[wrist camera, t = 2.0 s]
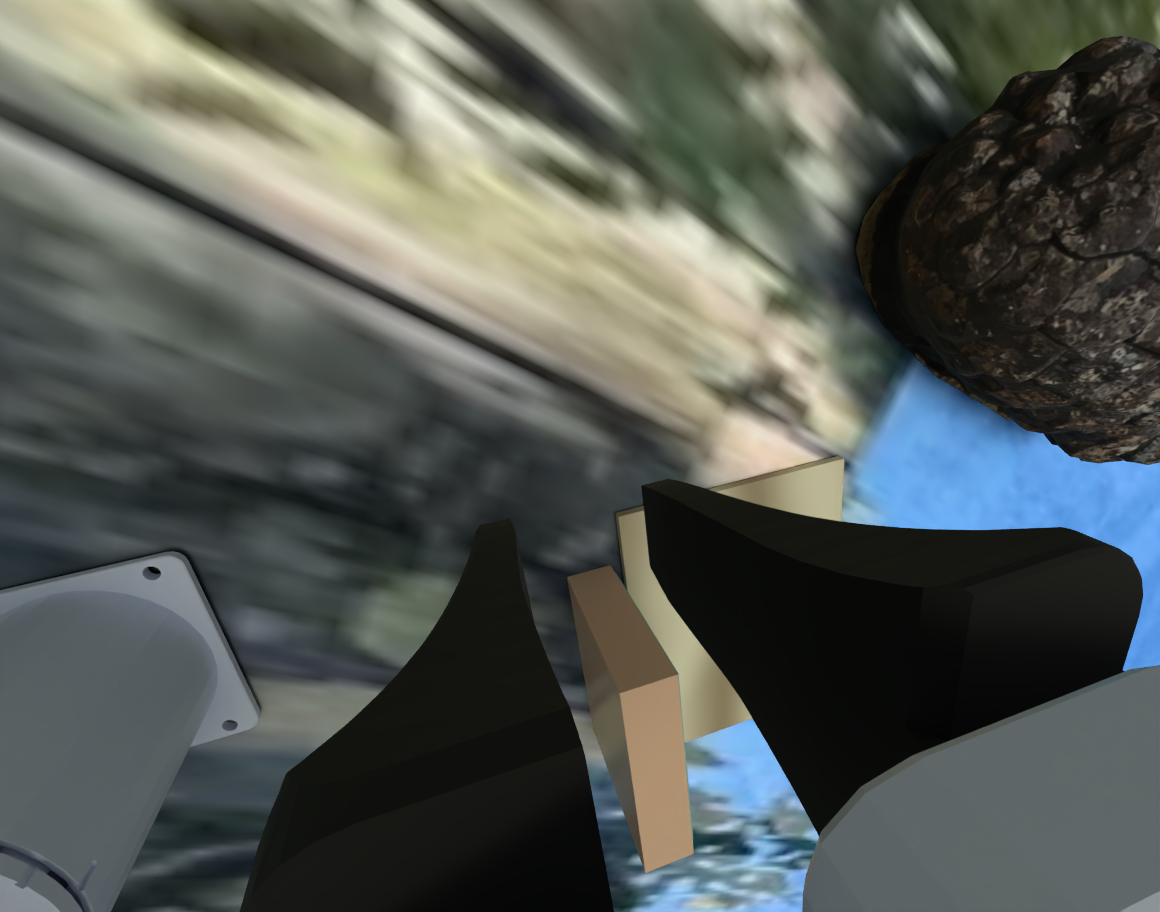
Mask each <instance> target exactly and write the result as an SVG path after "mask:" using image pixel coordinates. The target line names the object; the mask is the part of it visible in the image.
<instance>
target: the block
mask: <svg viewBox="0 0 1160 912" xmlns="http://www.w3.org/2000/svg"><path fill="white" fill-rule="evenodd" d="M567 580H568V586H569V592H570V598H571V603H572V609H573V615H574V621H575V627H576V632H577V638H578V644H579V650H580V655H581V661H582V667H583V673H584V679H585V684H586V690H587V696H588V702H589V707H590V713H591V719H592V725H593V730H594V732H595V735H596V738H597V741H598V743H599V746H600V749H601V752H602V754H603V757H604V760H605V763H606V765H607V768H608V771H609V774H610V776H611V779H612V782H613V785H614V788H615V790H616V793H617V796H618V799H619V801H620V804H621V807H622V810H623V812H624V815H625V818H626V821H627V823H628V826H629V829H630V832H631V834H632V837H633V840H634V843H635V845H636V848H637V851H638V854H639V857H640V859H641V862H642V865H643V868H644V870H645V873H647V872H649V871H652V870H654V869H657V868H659V867H662V866H664V865H666V864H669V863H671V862H674V861H676V860H679V859H681V858H684V857H686V856H689V855H691V854H694V852H693V831H692V820H691V808H690V797H689V786H688V774H687V763H686V752H685V740H684V729H683V718H682V706H681V695H680V684H679V674H678V672H677V670H676V669H675V667H674V666H673V664H672V662H671V661H670V659H669V657H668V656H667V654H666V653H665V651H664V649H663V648H662V646H661V644H660V643H659V641H658V640H657V638H656V636H655V635H654V633H653V632H652V630H651V628H650V627H649V625H648V623H647V622H646V620H645V619H644V617H643V615H642V614H641V612H640V610H639V609H638V607H637V606H636V604H635V602H634V601H633V599H632V598H631V596H630V594H629V593H628V591H627V589H626V588H625V586H624V585H623V583H622V581H621V580H620V578H619V576H618V575H617V573H615V572H614V570H613V568H612V567H611V565H609V566H605V567H602V568H598V569H594V570H591V571H587V572H583V573H580V574H576V575H572V576H569V577H567Z"/></svg>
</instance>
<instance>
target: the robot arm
mask: <svg viewBox="0 0 1160 912" xmlns="http://www.w3.org/2000/svg"><path fill="white" fill-rule="evenodd" d="M641 487H642V496H643V506H644V515H645V525H646V535H647V544H648V554H649V564H650V568H651V570H652V571H653V573H654V575H655V577H656V579H657V581H658V583H659V585H660V587H661V588H662V590H663V592H664V594H665V595H666V597H667V599H668V601H669V602H670V604H671V605H672V607H673V608H674V609H675V611H676V612H677V613H678V615H679V616H680V617H681V619H682V620H683V621H684V623H685V624H686V625H687V627H688V628H689V630H690V631H691V632H692V633H693V635H694V636H695V637H696V639H697V640H698V641H699V643H700V644H701V645H702V647H703V648H704V649H705V651H706V652H707V653H708V655H709V656H710V657H711V659H712V660H713V661H714V662H715V664H716V665H717V666H718V668H719V669H720V670H721V672H722V673H723V674H724V676H725V677H726V678H727V680H728V681H729V683H730V684H731V685H732V687H733V688H734V690H735V691H736V693H737V694H738V696H739V697H740V699H741V700H742V702H743V703H744V705H745V707H746V708H747V710H748V712H749V713H750V715H751V717H752V718H753V720H754V722H755V723H756V725H757V727H758V728H759V730H760V732H761V733H762V735H763V737H764V738H765V740H766V742H767V743H768V745H769V747H770V749H771V750H772V752H773V754H774V756H775V757H776V759H777V761H778V763H779V764H780V766H781V768H782V770H783V771H784V773H785V775H786V777H787V778H788V780H789V782H790V784H791V785H792V787H793V789H794V791H795V792H796V794H797V796H798V798H799V800H800V802H801V804H802V805H803V807H804V809H805V811H806V813H807V815H808V817H809V818H810V820H811V822H812V824H813V826H814V828H815V829H816V831H817V833H818V835H819V839H818V842H817V845H816V848H815V851H814V854H813V856H812V859H811V862H810V865H809V868H808V871H807V874H806V879H805V885H804V891H803V912H1160V665H1159V666H1152V667H1144V668H1137V669H1130V670H1127V671H1123V666H1124V663H1125V660H1126V657H1127V653H1128V650H1129V647H1130V644H1131V640H1132V637H1133V634H1134V631H1135V628H1136V624H1137V621H1138V618H1139V614H1140V609H1141V604H1142V599H1143V588H1142V578H1141V575H1140V572H1139V570H1138V568H1137V566H1136V564H1135V562H1134V560H1133V559H1132V557H1130V556H1129V555H1127V554H1126V553H1125V552H1123V551H1122V550H1120V549H1119V548H1116V547H1114V546H1111V545H1109V544H1106V543H1104V542H1102V541H1099V540H1097V539H1094V538H1092V537H1090V536H1087V535H1085V534H1082V533H1080V532H1077V531H1074V530H1071V529H1067V528H1062V527H1055V528H1029V529H1002V530H935V529H913V528H898V527H887V526H876V525H865V524H856V523H848V522H841V521H835V520H829V519H823V518H817V517H811V516H806V515H801V514H796V513H791V512H787V511H783V510H779V509H775V508H771V507H767V506H762V505H759V504H755V503H752V502H748V501H744V500H741V499H737V498H734V497H731V496H727V495H724V494H721V493H718V492H714V491H711V490H708V489H705V488H701V487H698V486H695V485H691V484H688V483H684V482H680V481H676V480H671V479H666V480H662V481H658V482H654V483H650V484H646V485H642V486H641ZM152 566H153V567H156V568H158V569H159V570H160V571H161V574H154V573H152V572H150V571H149V570H148V567H152ZM260 715H261V712H260V709H259V707H258V705H257V703H256V701H255V699H254V697H253V694H252V692H251V690H250V688H249V686H248V684H247V682H246V680H245V678H244V676H243V674H242V671H241V669H240V667H239V665H238V663H237V661H236V659H235V657H234V655H233V653H232V651H231V648H230V646H229V644H228V642H227V640H226V638H225V636H224V634H223V632H222V630H221V628H220V625H219V623H218V621H217V619H216V617H215V615H214V613H213V611H212V609H211V607H210V605H209V602H208V600H207V598H206V596H205V594H204V592H203V590H202V588H201V586H200V584H199V582H198V580H197V577H196V575H195V573H194V571H193V569H192V567H191V565H190V563H189V561H188V559H187V558H186V557H185V556H184V555H182V554H181V553H178V552H174V551H171V552H164V553H159V554H155V555H151V556H146V557H142V558H138V559H133V560H129V561H125V562H120V563H116V564H112V565H107V566H103V567H99V568H94V569H90V570H86V571H81V572H77V573H73V574H68V575H64V576H60V577H55V578H51V579H47V580H42V581H38V582H34V583H29V584H25V585H21V586H16V587H12V588H8V589H3V590H0V912H111V910H112V908H113V906H114V904H115V902H116V900H117V898H118V896H119V893H120V891H121V889H122V887H123V885H124V883H125V881H126V879H127V877H128V875H129V873H130V871H131V869H132V866H133V864H134V862H135V860H136V858H137V856H138V854H139V852H140V850H141V848H142V846H143V844H144V842H145V840H146V837H147V835H148V833H149V831H150V829H151V827H152V825H153V823H154V821H155V819H156V817H157V815H158V813H159V810H160V808H161V806H162V804H163V802H164V800H165V798H166V796H167V794H168V792H169V790H170V788H171V786H172V783H173V781H174V779H175V777H176V775H177V773H178V771H179V769H180V767H181V765H182V763H183V761H184V759H185V756H186V754H187V752H188V750H189V748H190V747H193V746H196V745H199V744H203V743H206V742H210V741H213V740H216V739H220V738H223V737H226V736H230V735H233V734H236V733H240V732H243V731H246V730H249V729H252V728H254V727H255V726H256V725H257V724H258V721H259V718H260ZM227 720H233V721H236V723H230V722H228V721H227ZM240 912H614V910H613V904H612V899H611V893H610V888H609V883H608V877H607V872H606V866H605V861H604V856H603V850H602V845H601V839H600V834H599V829H598V823H597V818H596V813H595V807H594V802H593V796H592V791H591V786H590V780H589V775H588V769H587V764H586V759H585V755H584V751H583V747H582V744H581V741H580V738H579V734H578V731H577V728H576V725H575V722H574V719H573V716H572V713H571V710H570V707H569V705H568V703H567V701H566V699H565V697H564V695H563V693H562V690H561V688H560V686H559V684H558V681H557V679H556V677H555V674H554V672H553V670H552V668H551V665H550V663H549V660H548V658H547V655H546V653H545V650H544V648H543V645H542V643H541V640H540V637H539V635H538V632H537V629H536V626H535V624H534V619H533V615H532V610H531V605H530V600H529V595H528V591H527V586H526V581H525V576H524V571H523V567H522V562H521V557H520V552H519V547H518V543H517V538H516V533H515V529H514V526H513V524H512V522H511V520H510V518H509V519H505V520H501V521H497V522H493V523H489V524H484V525H480V526H479V528H478V529H477V531H476V534H475V540H474V544H473V547H472V551H471V554H470V557H469V559H468V562H467V564H466V567H465V569H464V572H463V574H462V577H461V579H460V581H459V583H458V585H457V587H456V589H455V591H454V593H453V595H452V597H451V599H450V601H449V603H448V605H447V607H446V609H445V610H444V612H443V614H442V615H441V617H440V619H439V620H438V622H437V624H436V625H435V627H434V628H433V630H432V631H431V633H430V634H429V636H428V637H427V639H426V640H425V641H424V643H423V644H422V646H421V647H420V648H419V649H418V651H417V652H416V653H415V654H414V655H413V657H412V658H411V659H410V660H409V661H408V663H407V664H406V665H405V666H404V667H403V669H402V670H401V671H400V672H399V673H398V675H397V676H396V677H395V678H394V679H393V680H392V681H391V682H390V683H389V684H388V685H387V686H386V687H385V688H384V689H383V690H382V691H381V692H380V693H379V694H378V695H377V696H376V697H375V698H374V699H373V700H372V701H371V702H370V703H369V704H368V705H367V706H366V707H365V708H364V709H363V710H362V711H361V712H360V713H359V714H358V715H356V716H355V717H354V718H353V719H352V720H351V721H350V722H349V723H348V724H346V725H345V726H344V727H343V728H342V729H341V730H339V731H338V732H337V733H336V734H334V735H333V736H332V737H331V738H330V739H328V740H327V741H326V742H325V743H323V744H322V745H321V746H320V747H319V748H317V749H316V750H315V751H314V752H313V753H311V754H310V755H309V756H308V757H306V758H305V759H304V760H303V761H302V762H300V763H299V764H298V765H296V766H295V767H294V768H292V769H291V770H290V771H289V772H287V774H286V776H285V778H284V781H283V783H282V786H281V789H280V792H279V794H278V796H277V799H276V801H275V803H274V806H273V808H272V810H271V813H270V815H269V818H268V820H267V823H266V826H265V829H264V832H263V834H262V837H261V840H260V843H259V846H258V849H257V853H256V856H255V860H254V863H253V867H252V870H251V874H250V877H249V881H248V884H247V888H246V892H245V895H244V899H243V902H242V906H241V909H240Z"/></svg>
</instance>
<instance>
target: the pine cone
mask: <svg viewBox="0 0 1160 912" xmlns="http://www.w3.org/2000/svg"><path fill="white" fill-rule="evenodd" d="M856 253H857V257H858V261H859V266H860V271H861V276H862V280H863V285H864V287H865V288H866V290H867V292H868V294H869V296H870V298H871V300H872V302H873V305H874V307H875V309H876V311H877V313H878V315H879V317H880V318H881V320H882V322H883V324H884V326H885V327H886V328H887V329H888V330H889V331H890V332H891V333H892V334H893V335H894V336H895V337H896V338H897V339H898V340H899V341H900V342H902V343H903V344H905V345H906V346H907V347H908V348H909V349H910V351H911V352H912V353H913V354H914V355H915V356H916V357H917V358H918V359H919V360H920V361H921V362H922V363H923V364H924V365H925V366H926V367H927V368H928V369H929V370H930V371H931V372H932V373H933V374H935V375H936V376H937V377H939V378H940V379H942V380H944V381H945V382H947V383H949V384H950V385H952V386H954V387H955V388H957V389H959V390H960V391H962V392H963V393H965V394H967V395H968V396H970V397H971V398H973V399H975V400H976V401H978V402H979V403H981V404H983V405H985V406H987V407H989V408H991V409H992V410H993V411H995V412H996V413H998V414H999V415H1001V416H1002V417H1004V418H1005V419H1007V420H1013V421H1015V422H1016V423H1017V424H1018V425H1019V426H1020V427H1022V428H1024V429H1026V430H1027V431H1032V432H1038V433H1044V435H1045V436H1046V438H1047V439H1048V440H1049V441H1050V442H1051V444H1053V445H1058V446H1059V447H1060V448H1061V449H1062V450H1063V451H1064V452H1065V453H1067V454H1068V455H1069V456H1070V457H1077V458H1079V459H1080V460H1081V461H1087V462H1093V463H1103V462H1114V461H1123V460H1125V461H1127V462H1136V463H1141V464H1146V465H1150V464H1154V463H1159V462H1160V50H1159V49H1158V48H1157V47H1156V46H1155V45H1152V44H1150V43H1148V42H1145V41H1142V40H1139V39H1135V38H1130V37H1125V36H1119V37H1111V38H1103V39H1100V40H1098V41H1096V42H1094V43H1093V44H1091V45H1089V46H1087V47H1085V48H1084V49H1082V50H1080V51H1078V52H1076V53H1075V54H1073V55H1072V56H1071V57H1070V58H1069V59H1068V60H1067V61H1065V62H1064V63H1063V64H1062V65H1061V66H1060V67H1059V68H1057V69H1056V70H1046V71H1037V72H1030V71H1027V72H1025V73H1022V74H1020V75H1017V76H1015V77H1013V78H1012V79H1011V80H1010V81H1009V82H1008V83H1007V85H1006V86H1005V88H1004V89H1003V91H1002V92H1001V94H1000V95H999V97H998V98H997V100H996V101H995V103H994V104H993V106H992V107H990V108H989V109H988V110H987V111H985V112H984V113H983V114H981V115H980V116H979V117H977V118H976V119H974V120H973V121H971V122H970V123H968V124H967V125H966V126H965V127H964V128H963V129H962V130H961V131H960V132H959V133H958V134H957V135H956V136H955V137H954V138H953V139H952V140H951V141H948V142H946V143H943V144H941V145H938V146H936V147H933V148H931V149H928V150H926V151H924V152H922V153H920V154H918V155H916V156H914V157H913V158H912V159H911V160H910V161H909V162H908V163H907V164H906V165H905V166H904V167H903V168H902V170H901V171H900V172H899V173H898V174H897V175H896V176H895V177H894V179H893V180H892V181H891V182H890V183H889V184H888V185H887V187H886V188H885V189H884V190H883V191H882V192H881V193H880V194H879V196H878V197H877V199H876V200H875V202H874V203H873V205H872V206H871V207H870V209H869V210H868V212H867V213H866V215H865V216H864V219H863V223H862V226H861V230H860V234H859V238H858V242H857V246H856ZM980 398H981V399H982V402H981V400H980Z"/></svg>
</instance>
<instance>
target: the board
mask: <svg viewBox="0 0 1160 912" xmlns="http://www.w3.org/2000/svg"><path fill="white" fill-rule="evenodd" d="M843 472H844V458H842V457H839V456H836V457H832V458H828V459H824V460H820V461H816V462H812V463H808V464H804V465H800V466H797V467H793V468H789V469H785V470H781V471H777V472H773V473H769V474H765V475H761V476H757V477H754V478H750V479H746V480H742V481H738V482H734V483H730V484H726V485H722V486H718V487H715V488H711V489H708V490H711V491H714V492H718V493H721V494H724V495H727V496H731V497H734V498H737V499H741V500H744V501H748V502H752V503H755V504H759V505H762V506H767V507H771V508H775V509H779V510H783V511H787V512H791V513H796V514H801V515H806V516H811V517H817V518H823V519H829V520H835V521H841V512H842V492H843ZM615 515H616V523H617V531H618V539H619V547H620V555H621V563H622V571H623V579H624V586H625V588H626V589H627V591H628V593H629V594H630V596H631V598H632V599H633V601H634V602H635V604H636V606H637V607H638V609H639V610H640V612H641V614H642V615H643V617H644V619H645V620H646V622H647V623H648V625H649V627H650V628H651V630H652V632H653V633H654V635H655V636H656V638H657V640H658V641H659V643H660V644H661V646H662V648H663V649H664V651H665V653H666V654H667V656H668V657H669V659H670V661H671V662H672V664H673V666H674V667H675V669H676V670H677V672H678V674H679V684H680V695H681V706H682V718H683V729H684V740H685V742H687V741H690V740H693V739H696V738H699V737H702V736H704V735H707V734H710V733H713V732H716V731H719V730H721V729H724V728H727V727H730V726H733V725H735V724H738V723H741V722H744V721H747V720H750V719H752V717H751V715H750V713H749V712H748V710H747V708H746V707H745V705H744V703H743V702H742V700H741V699H740V697H739V696H738V694H737V693H736V691H735V690H734V688H733V687H732V685H731V684H730V683H729V681H728V680H727V678H726V677H725V676H724V674H723V673H722V672H721V670H720V669H719V668H718V666H717V665H716V664H715V662H714V661H713V660H712V659H711V657H710V656H709V655H708V653H707V652H706V651H705V649H704V648H703V647H702V645H701V644H700V643H699V641H698V640H697V639H696V637H695V636H694V635H693V633H692V632H691V631H690V630H689V628H688V627H687V625H686V624H685V623H684V621H683V620H682V619H681V617H680V616H679V615H678V613H677V612H676V611H675V609H674V608H673V607H672V605H671V604H670V602H669V601H668V599H667V597H666V595H665V594H664V592H663V590H662V588H661V587H660V585H659V583H658V581H657V579H656V577H655V575H654V573H653V571H652V570H651V568H650V564H649V554H648V544H647V535H646V525H645V515H644V506H640V507H636V508H633V509H629V510H625V511H621V512H617V513H615Z"/></svg>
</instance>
